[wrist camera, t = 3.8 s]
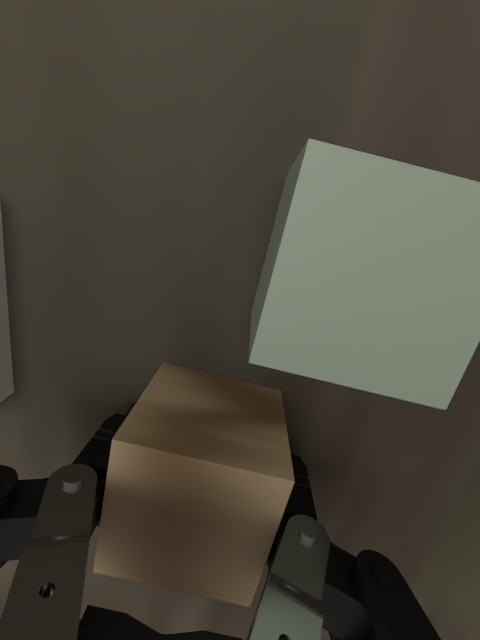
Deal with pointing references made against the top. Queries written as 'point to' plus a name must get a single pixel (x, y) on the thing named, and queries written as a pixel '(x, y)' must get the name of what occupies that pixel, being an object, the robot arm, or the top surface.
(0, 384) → the white base
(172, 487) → the oak block
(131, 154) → the top surface
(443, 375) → the sage block
